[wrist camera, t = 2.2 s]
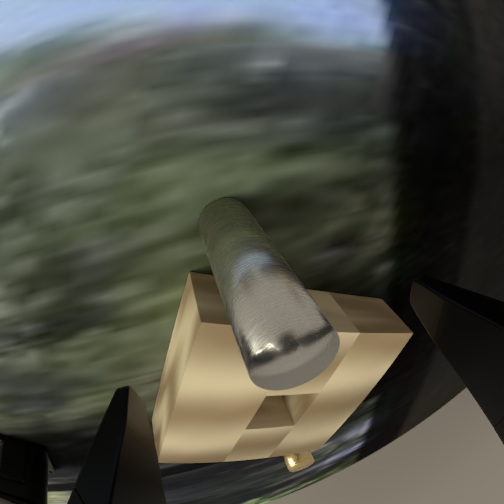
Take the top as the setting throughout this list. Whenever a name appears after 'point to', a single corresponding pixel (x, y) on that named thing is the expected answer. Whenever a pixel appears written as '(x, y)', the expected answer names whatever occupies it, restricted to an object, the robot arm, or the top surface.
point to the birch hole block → (253, 397)
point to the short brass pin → (298, 461)
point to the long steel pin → (265, 300)
